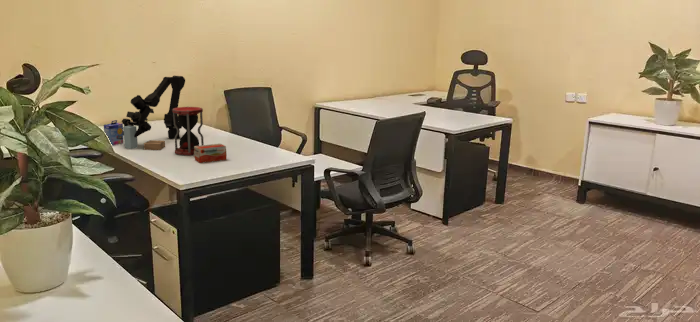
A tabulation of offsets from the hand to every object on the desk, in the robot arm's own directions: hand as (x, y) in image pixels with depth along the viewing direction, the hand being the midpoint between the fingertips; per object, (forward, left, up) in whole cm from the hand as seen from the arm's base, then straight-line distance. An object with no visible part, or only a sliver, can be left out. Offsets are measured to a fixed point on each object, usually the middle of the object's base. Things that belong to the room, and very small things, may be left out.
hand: (128, 136), depth 315 cm
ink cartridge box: (+9, -13, -7) cm, 17 cm away
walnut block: (-14, +3, -7) cm, 16 cm away
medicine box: (-43, +38, -7) cm, 58 cm away
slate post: (-1, -1, -7) cm, 7 cm away
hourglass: (-33, +18, -7) cm, 38 cm away
